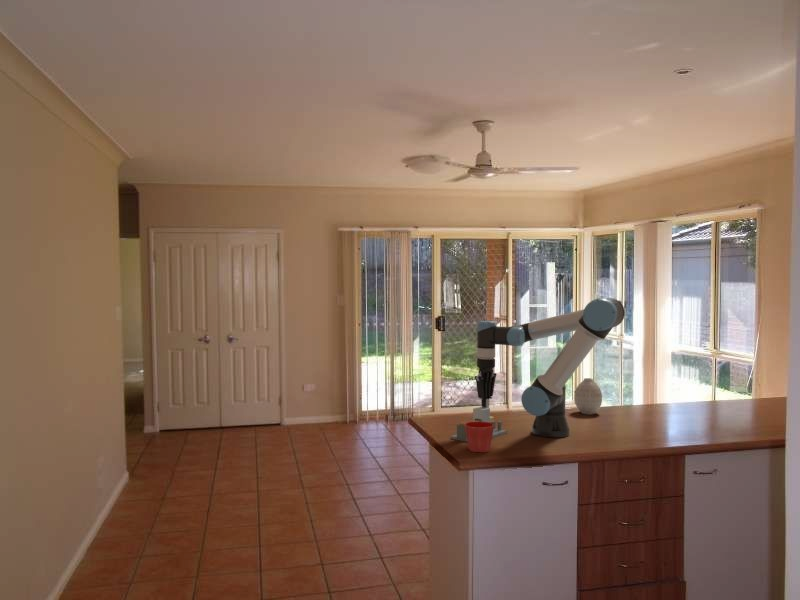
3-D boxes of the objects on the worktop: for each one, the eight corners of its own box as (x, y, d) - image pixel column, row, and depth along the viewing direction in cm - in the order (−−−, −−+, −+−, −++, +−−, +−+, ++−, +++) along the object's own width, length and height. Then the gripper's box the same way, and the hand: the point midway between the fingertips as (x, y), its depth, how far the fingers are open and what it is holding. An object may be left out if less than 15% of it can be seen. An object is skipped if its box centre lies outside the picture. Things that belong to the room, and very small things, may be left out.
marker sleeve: (489, 427, 263) (489, 408, 263) (483, 430, 259) (483, 410, 259) (479, 426, 266) (479, 406, 266) (472, 428, 262) (473, 408, 262)
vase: (605, 416, 298) (606, 380, 298) (578, 415, 299) (578, 380, 298) (597, 410, 311) (597, 376, 311) (571, 410, 311) (571, 376, 311)
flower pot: (462, 446, 243) (462, 421, 243) (490, 445, 244) (490, 420, 244) (467, 453, 233) (467, 427, 232) (496, 453, 234) (497, 427, 233)
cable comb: (506, 433, 264) (507, 416, 264) (475, 443, 247) (475, 426, 247) (482, 428, 272) (482, 412, 272) (450, 438, 255) (450, 421, 255)
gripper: (487, 355, 272) (486, 410, 272) (469, 358, 262) (468, 415, 263) (502, 357, 267) (501, 413, 267) (484, 360, 257) (483, 418, 258)
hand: (485, 414), depth 265 cm, fingers closed
